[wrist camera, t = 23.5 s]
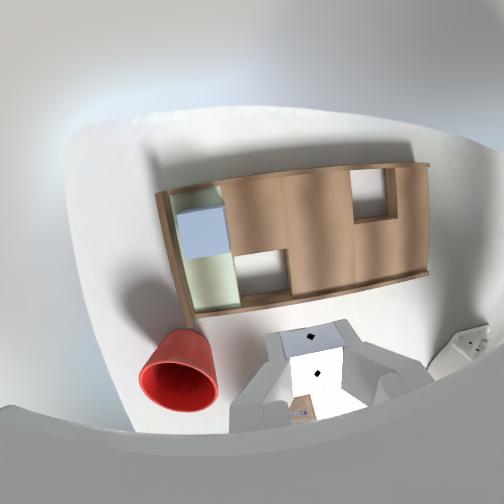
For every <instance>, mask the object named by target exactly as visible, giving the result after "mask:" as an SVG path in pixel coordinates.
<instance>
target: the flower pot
mask: <svg viewBox="0 0 504 504" xmlns="http://www.w3.org/2000/svg"><path fill="white" fill-rule="evenodd" d="M139 383H140V387H141V389H142V390H143V392H144V393H145V395H146V396H147V397H148V398H149V399H150V400H152V401H153V402H154V403H156V404H158V405H160V406H162V407H164V408H166V409H169V410H172V411H177V412H197V411H201V410H204V409H206V408H208V407H209V406H211V405H212V404H213V403H214V402H215V400H216V399H217V397H218V384H217V379H216V373H215V367H214V362H213V357H212V352H211V347H210V344H209V342H208V341H207V340H206V339H205V338H204V337H203V336H202V335H201V334H199V333H196V332H194V331H192V330H187V329H180V330H175V331H173V332H171V333H170V334H168V335H167V337H166V338H165V339H164V340H163V341H162V343H161V344H160V345H159V346H158V348H157V349H156V350H155V352H154V353H153V354H152V356H151V357H150V358H149V360H148V361H147V362H146V364H145V365H144V367H143V368H142V370H141V372H140V375H139Z"/></svg>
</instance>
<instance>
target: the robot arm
mask: <svg viewBox="0 0 504 504" xmlns="http://www.w3.org/2000/svg"><path fill="white" fill-rule="evenodd" d="M489 337H490V326H489V325H484V326H480V327H476V328H472V329H468V330H464V331H459V332H456V333H455V334H454V335H453V337H452V338H451V340H450V341H449V343H448V344H447V345H446V346H445V347H444V348H443V349H442V350H441V351H440V352H439V353H438V355H437V356H436V357H435V358H434V359H433V361H432V362H431V364H430V365H429V367H428V369H427V370H426V368H425V367H424V366H423V365H422V364H421V362H420V361H417V360H414V359H411V358H408V357H406V356H403V355H400V354H397V353H395V352H392V351H389V350H387V349H384V348H381V347H379V346H376V345H373V344H371V343H368V342H363V343H362V341H361V340H360V338H359V337H358V335H357V334H356V332H355V331H354V329H353V328H352V326H351V325H350V324H349V322H348V321H347V320H346V319H342V320H338V321H334V322H331V323H327V324H323V325H318V326H313V327H308V328H301V329H295V330H288V331H281V332H275V333H268V334H265V341H266V347H267V354H268V361H269V362H266V363H264V364H263V366H262V367H261V368H260V369H259V371H258V372H257V373H256V374H255V376H254V377H253V378H252V379H251V381H250V382H249V383H248V384H247V386H246V387H245V388H244V389H243V390H242V392H241V393H240V394H239V395H238V396H237V398H236V399H235V400H234V401H233V402H232V404H231V405H230V418H229V433H227V434H206V435H172V434H151V433H138V432H128V431H120V430H112V429H105V428H99V427H94V426H88V425H83V424H78V423H73V422H69V421H65V420H61V419H56V418H53V417H49V416H46V415H42V414H39V413H35V412H32V411H29V410H26V409H23V408H21V407H18V406H15V405H8V406H5V407H2V408H0V504H504V342H503V343H502V344H500V345H499V346H497V347H496V348H495V346H494V343H493V342H492V341H491V340H490V339H489ZM336 387H341V388H342V389H344V390H345V391H347V392H348V393H349V394H351V395H352V396H354V397H355V398H357V399H358V400H360V401H361V402H363V403H364V404H366V405H367V406H369V407H367V408H363V409H360V410H357V411H353V412H350V413H346V414H343V415H339V416H335V417H331V418H327V419H323V420H318V421H314V422H309V423H304V424H299V425H292V421H291V416H290V412H289V407H290V405H291V403H292V401H293V399H294V397H295V396H299V395H304V394H308V393H313V392H317V391H322V390H327V389H332V388H336Z"/></svg>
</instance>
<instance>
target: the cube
mask: <svg viewBox="0 0 504 504" xmlns="http://www.w3.org/2000/svg"><path fill="white" fill-rule="evenodd" d="M176 217H177V222H178V227H179V232H180V237H181V242H182V246H183V251H184V256H185V260H187V259H194V258H200V257H207V256H214V255H220V254H227V253H230V250H231V239H230V233H229V227H228V221H227V215H226V209H225V203H221V204H215V205H209V206H203V207H197V208H191V209H186V210H183V211H181V212H180V213H179V214H177V215H176Z"/></svg>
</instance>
